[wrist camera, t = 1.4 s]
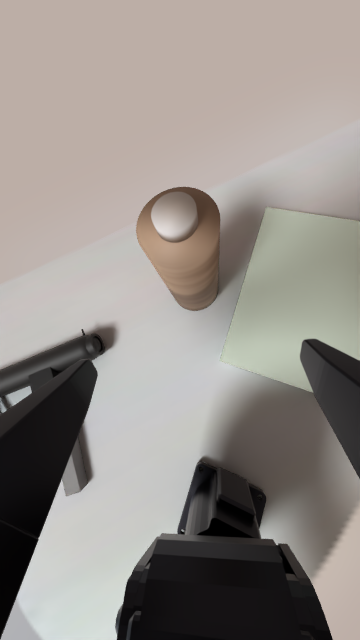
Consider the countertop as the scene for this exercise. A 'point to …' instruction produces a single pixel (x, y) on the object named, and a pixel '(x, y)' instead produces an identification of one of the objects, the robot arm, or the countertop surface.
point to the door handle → (41, 372)
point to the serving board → (296, 294)
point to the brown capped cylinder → (183, 244)
